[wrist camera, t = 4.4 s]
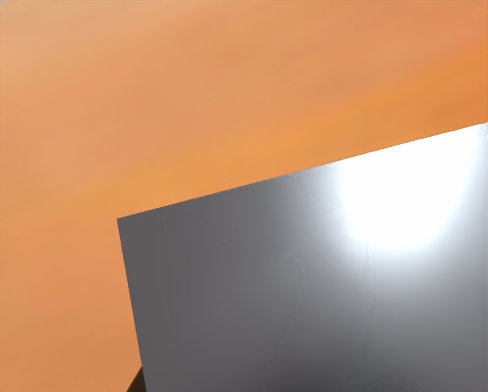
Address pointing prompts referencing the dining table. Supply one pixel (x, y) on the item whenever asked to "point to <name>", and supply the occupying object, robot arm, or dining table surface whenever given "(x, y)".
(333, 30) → the dining table surface
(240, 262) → the block
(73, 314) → the dining table surface
